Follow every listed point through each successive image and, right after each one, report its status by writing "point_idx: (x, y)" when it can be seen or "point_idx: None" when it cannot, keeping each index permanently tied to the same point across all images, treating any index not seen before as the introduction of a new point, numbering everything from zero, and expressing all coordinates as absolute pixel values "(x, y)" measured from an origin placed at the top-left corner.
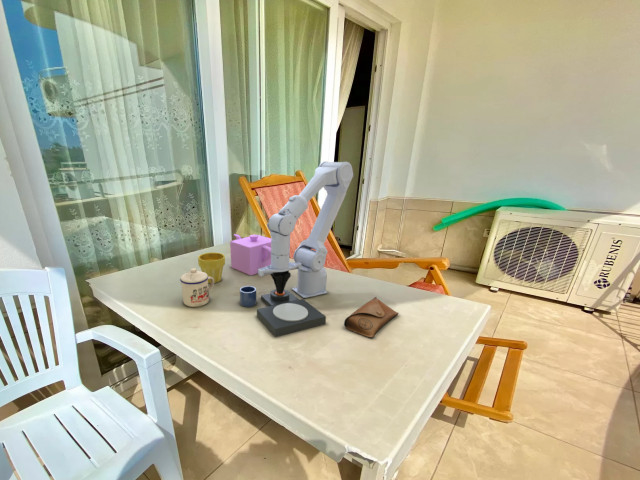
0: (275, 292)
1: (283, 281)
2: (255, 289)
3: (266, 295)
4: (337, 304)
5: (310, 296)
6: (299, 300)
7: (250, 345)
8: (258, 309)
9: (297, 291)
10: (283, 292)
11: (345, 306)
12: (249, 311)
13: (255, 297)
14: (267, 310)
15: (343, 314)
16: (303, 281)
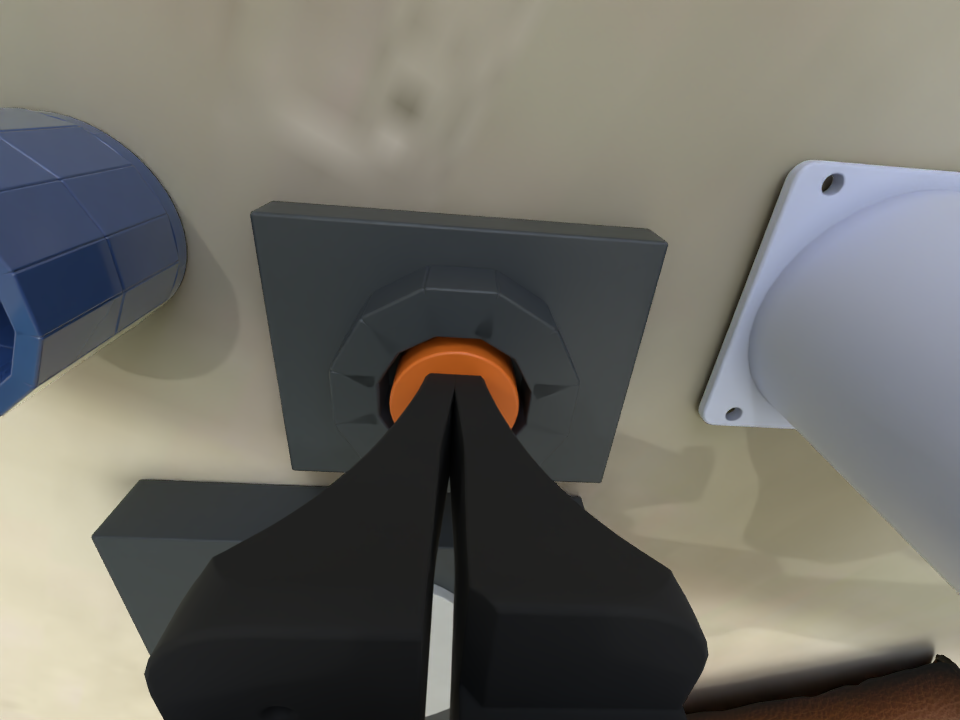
0: (400, 387)
1: (452, 647)
2: (25, 362)
3: (322, 258)
4: (805, 567)
5: (769, 425)
6: None
7: (55, 665)
8: (106, 548)
9: (766, 289)
10: None
11: (815, 598)
12: (80, 388)
13: (105, 343)
14: (190, 582)
15: (707, 643)
16: (866, 485)
